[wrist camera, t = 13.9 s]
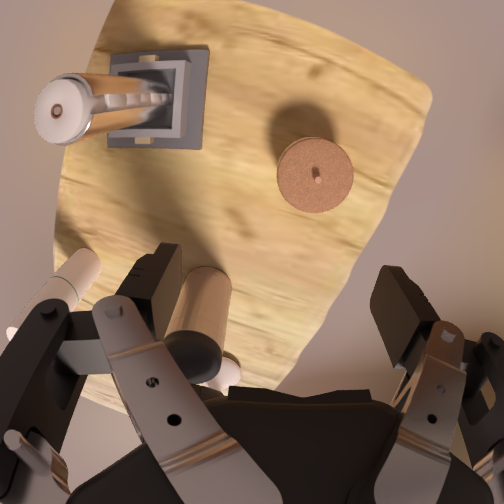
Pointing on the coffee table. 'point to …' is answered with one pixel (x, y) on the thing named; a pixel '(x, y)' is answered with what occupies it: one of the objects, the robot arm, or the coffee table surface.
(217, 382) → the flower in vase
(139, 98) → the silver metal cylinder
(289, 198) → the lidded jar
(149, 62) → the socket
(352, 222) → the coffee table surface
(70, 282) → the cylindrical container
